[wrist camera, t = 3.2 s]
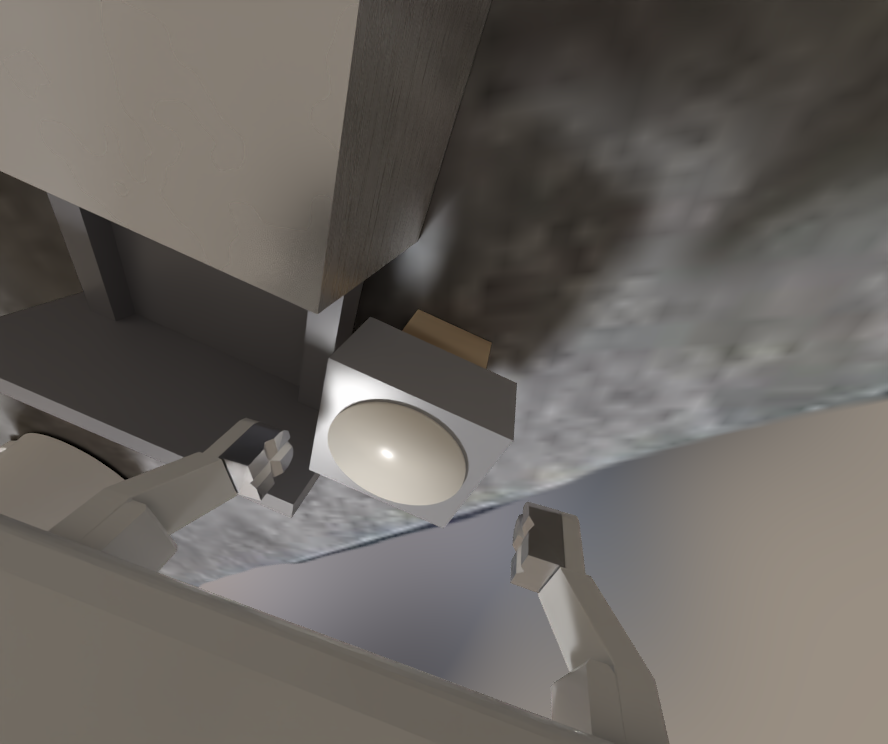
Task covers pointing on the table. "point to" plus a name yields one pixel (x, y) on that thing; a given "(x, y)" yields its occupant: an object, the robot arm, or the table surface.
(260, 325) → the tray
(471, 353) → the block
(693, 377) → the table surface
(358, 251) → the housing
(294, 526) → the table surface
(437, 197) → the table surface
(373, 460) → the push button
